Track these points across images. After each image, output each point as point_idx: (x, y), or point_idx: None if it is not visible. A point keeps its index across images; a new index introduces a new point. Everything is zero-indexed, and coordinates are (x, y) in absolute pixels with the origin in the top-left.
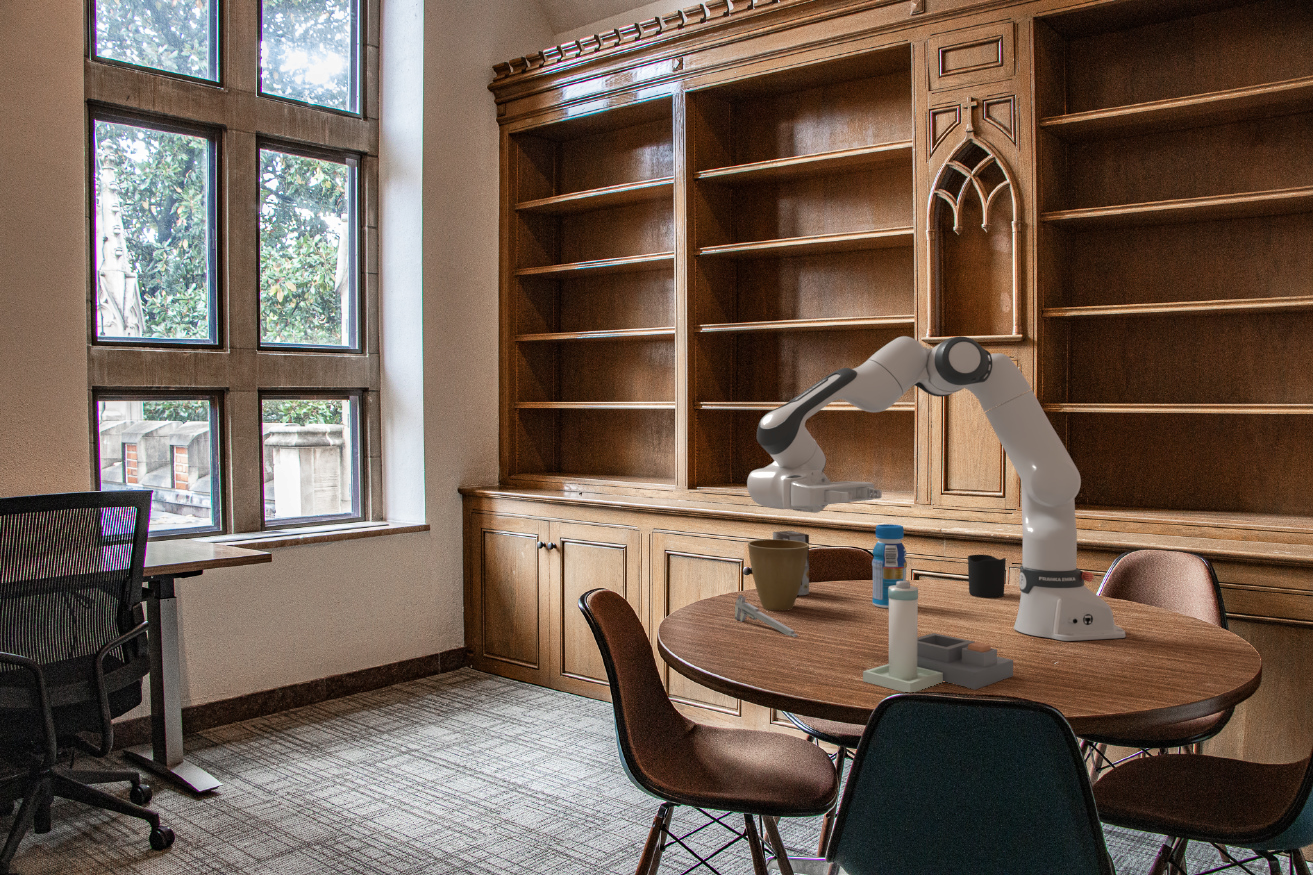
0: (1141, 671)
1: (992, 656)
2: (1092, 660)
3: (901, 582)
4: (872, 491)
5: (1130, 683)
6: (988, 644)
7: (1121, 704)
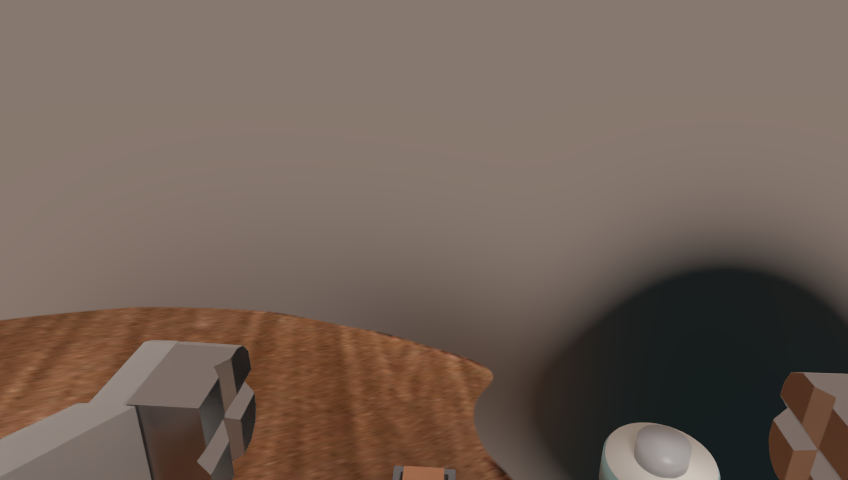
0: None
1: None
2: None
3: (677, 442)
4: (219, 401)
5: (261, 376)
6: (405, 469)
7: (397, 358)
